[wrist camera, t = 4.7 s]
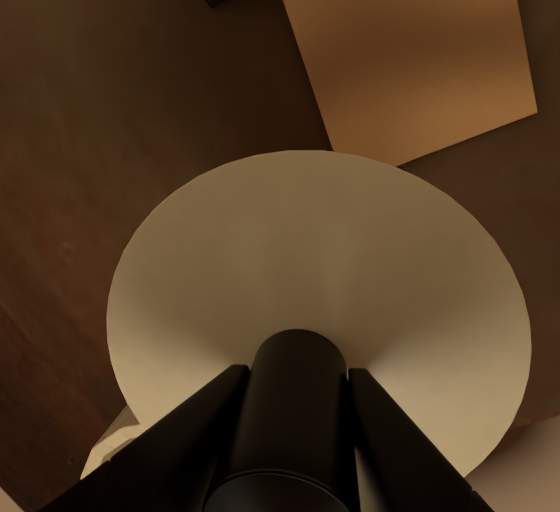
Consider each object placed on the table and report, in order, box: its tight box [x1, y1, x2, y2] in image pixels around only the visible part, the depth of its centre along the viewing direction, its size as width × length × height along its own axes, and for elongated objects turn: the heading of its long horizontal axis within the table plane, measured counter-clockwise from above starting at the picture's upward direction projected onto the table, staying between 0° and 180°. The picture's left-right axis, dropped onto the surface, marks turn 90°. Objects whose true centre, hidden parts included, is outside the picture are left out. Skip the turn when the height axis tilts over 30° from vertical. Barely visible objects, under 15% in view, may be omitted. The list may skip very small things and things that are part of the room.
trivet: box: [283, 0, 537, 167], centre depth 16 cm, size 10×10×1 cm
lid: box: [107, 150, 532, 512], centre depth 7 cm, size 11×11×5 cm
